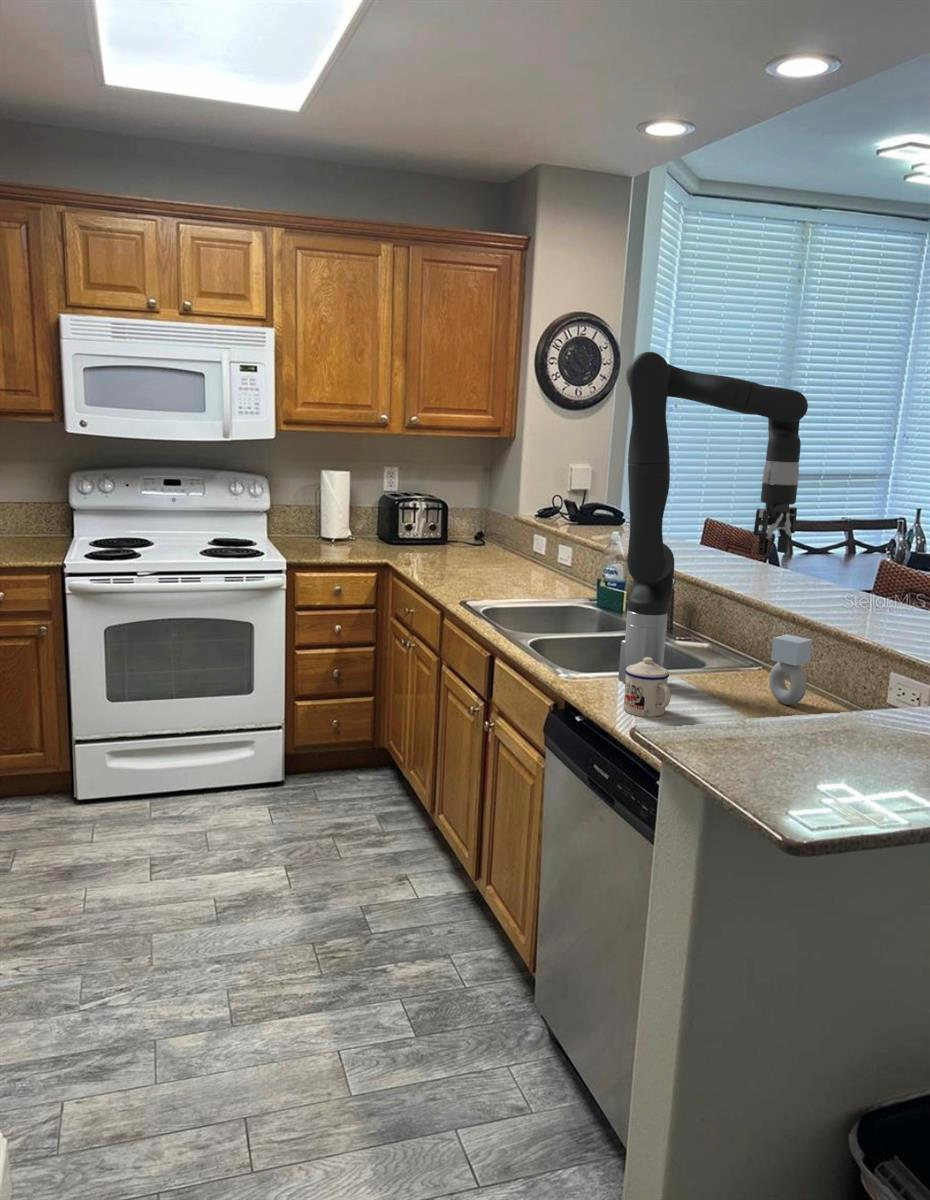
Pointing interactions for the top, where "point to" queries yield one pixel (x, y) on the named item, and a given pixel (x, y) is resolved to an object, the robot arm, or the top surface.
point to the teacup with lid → (646, 689)
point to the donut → (796, 682)
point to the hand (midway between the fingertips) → (772, 553)
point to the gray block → (791, 649)
